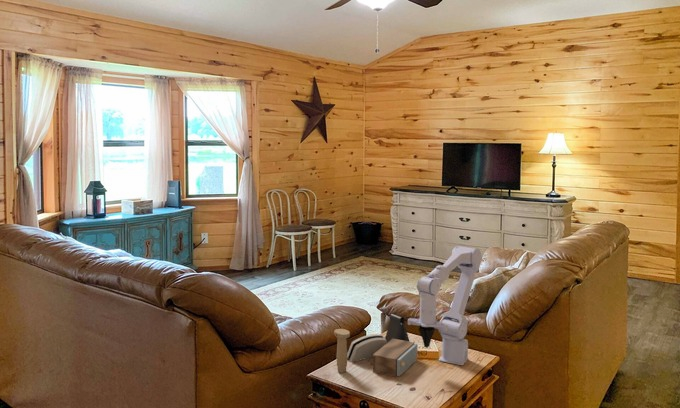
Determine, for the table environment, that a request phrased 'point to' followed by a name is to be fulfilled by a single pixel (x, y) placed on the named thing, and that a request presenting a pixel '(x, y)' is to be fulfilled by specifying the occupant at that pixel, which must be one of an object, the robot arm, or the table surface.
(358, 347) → the grey curved piece
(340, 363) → the handle
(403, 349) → the cabinet
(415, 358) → the door
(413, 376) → the table surface
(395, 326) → the phone stand
